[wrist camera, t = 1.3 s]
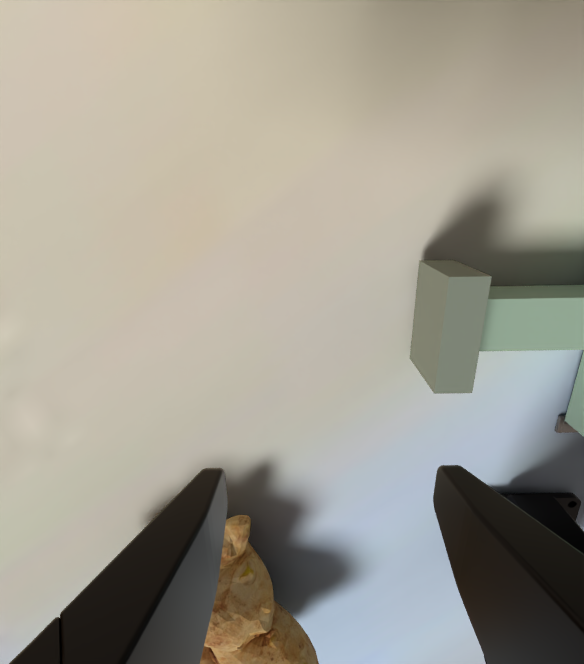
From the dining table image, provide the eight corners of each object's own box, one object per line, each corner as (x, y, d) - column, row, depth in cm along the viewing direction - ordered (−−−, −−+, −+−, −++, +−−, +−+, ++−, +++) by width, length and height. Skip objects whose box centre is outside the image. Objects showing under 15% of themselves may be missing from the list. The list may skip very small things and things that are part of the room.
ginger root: (331, 495, 22) (340, 682, 15) (318, 609, 31) (320, 757, 24) (64, 483, 22) (-43, 659, 15) (128, 598, 31) (78, 740, 24)
